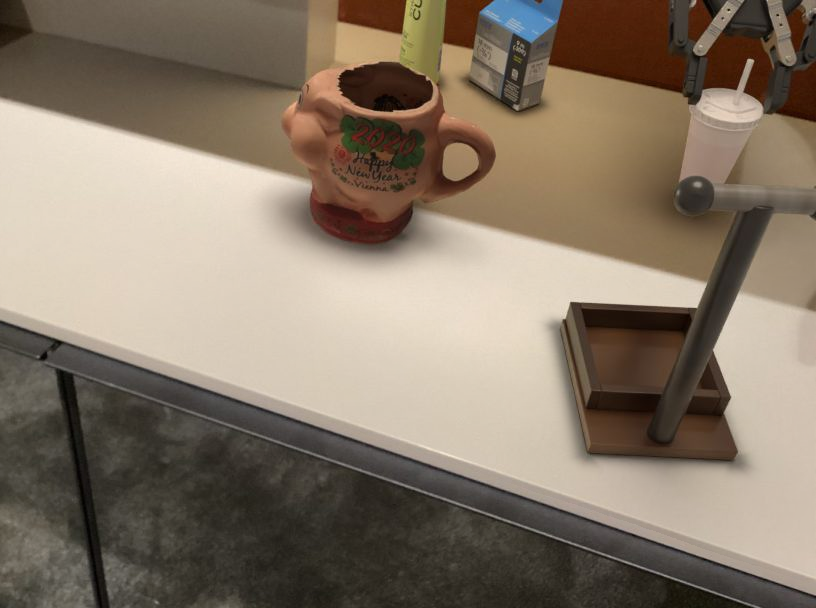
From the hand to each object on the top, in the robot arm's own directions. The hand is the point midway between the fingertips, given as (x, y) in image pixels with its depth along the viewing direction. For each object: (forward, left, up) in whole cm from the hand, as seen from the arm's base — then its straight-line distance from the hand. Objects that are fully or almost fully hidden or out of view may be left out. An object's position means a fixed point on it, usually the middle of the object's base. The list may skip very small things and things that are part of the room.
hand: (732, 106), depth 86 cm
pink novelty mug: (+31, +2, -12) cm, 33 cm away
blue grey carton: (+16, -25, -12) cm, 32 cm away
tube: (+26, -27, -12) cm, 39 cm away
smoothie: (0, -2, -10) cm, 11 cm away
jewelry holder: (+10, +25, -12) cm, 29 cm away
